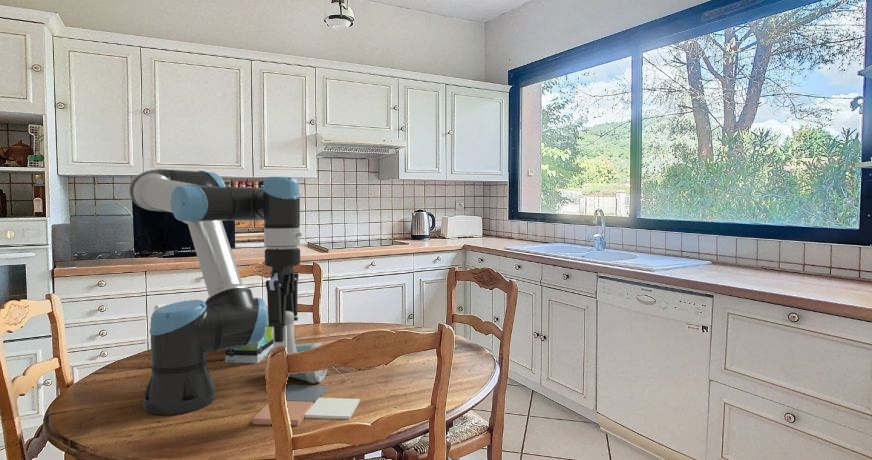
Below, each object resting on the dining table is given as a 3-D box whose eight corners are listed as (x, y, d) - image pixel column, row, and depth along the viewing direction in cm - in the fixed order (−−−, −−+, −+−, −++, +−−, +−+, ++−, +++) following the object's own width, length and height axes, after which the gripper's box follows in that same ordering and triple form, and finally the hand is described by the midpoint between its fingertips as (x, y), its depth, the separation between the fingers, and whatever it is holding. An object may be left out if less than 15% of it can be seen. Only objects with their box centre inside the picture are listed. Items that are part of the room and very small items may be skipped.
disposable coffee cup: (272, 331, 134) (322, 335, 131) (287, 351, 142) (335, 355, 138) (255, 367, 127) (308, 372, 124) (272, 386, 135) (323, 391, 131)
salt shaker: (289, 375, 106) (288, 315, 106) (265, 373, 108) (264, 313, 107) (303, 366, 112) (302, 309, 112) (280, 365, 114) (279, 308, 113)
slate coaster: (274, 404, 118) (274, 399, 118) (290, 389, 128) (290, 384, 128) (315, 406, 117) (315, 401, 117) (328, 390, 127) (328, 385, 127)
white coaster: (304, 420, 109) (304, 414, 109) (318, 402, 119) (318, 397, 119) (349, 421, 109) (349, 416, 109) (359, 403, 119) (359, 399, 119)
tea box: (258, 368, 144) (258, 317, 143) (224, 367, 144) (223, 317, 143) (276, 352, 159) (275, 307, 158) (244, 352, 159) (244, 306, 158)
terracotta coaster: (252, 424, 106) (252, 418, 106) (271, 405, 116) (271, 400, 116) (298, 425, 105) (298, 419, 105) (313, 406, 115) (313, 401, 115)
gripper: (285, 250, 100) (287, 364, 101) (311, 245, 117) (312, 343, 118) (249, 250, 101) (251, 364, 102) (280, 245, 118) (281, 343, 118)
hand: (284, 352), depth 110 cm, fingers closed on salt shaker, 3 cm apart
